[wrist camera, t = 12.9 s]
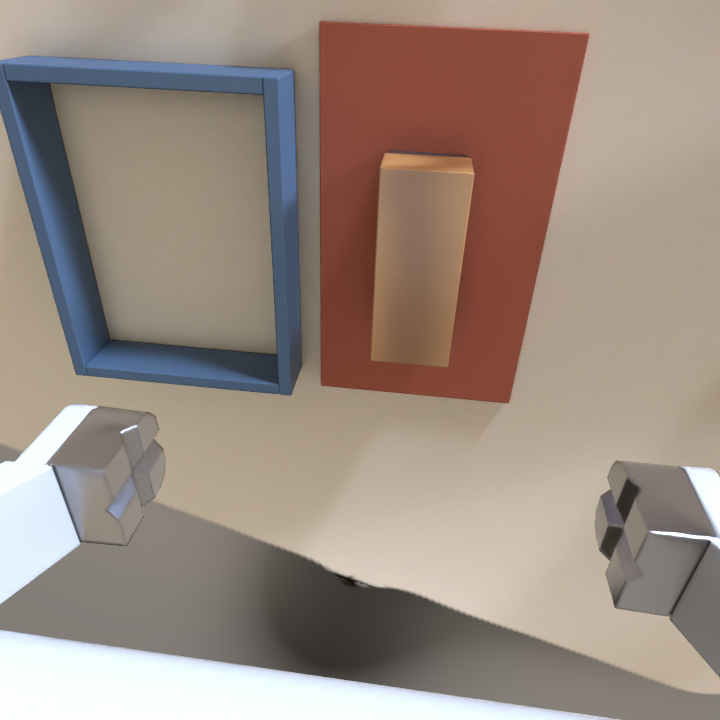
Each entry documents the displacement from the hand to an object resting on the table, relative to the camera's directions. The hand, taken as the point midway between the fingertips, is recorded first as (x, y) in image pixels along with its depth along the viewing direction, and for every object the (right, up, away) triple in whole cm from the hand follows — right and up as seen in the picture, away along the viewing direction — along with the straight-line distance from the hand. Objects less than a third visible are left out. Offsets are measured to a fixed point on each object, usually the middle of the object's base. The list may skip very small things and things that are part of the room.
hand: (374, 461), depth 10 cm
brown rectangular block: (+3, +9, +23) cm, 25 cm away
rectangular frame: (-11, +10, +25) cm, 29 cm away
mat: (+4, +9, +24) cm, 26 cm away
